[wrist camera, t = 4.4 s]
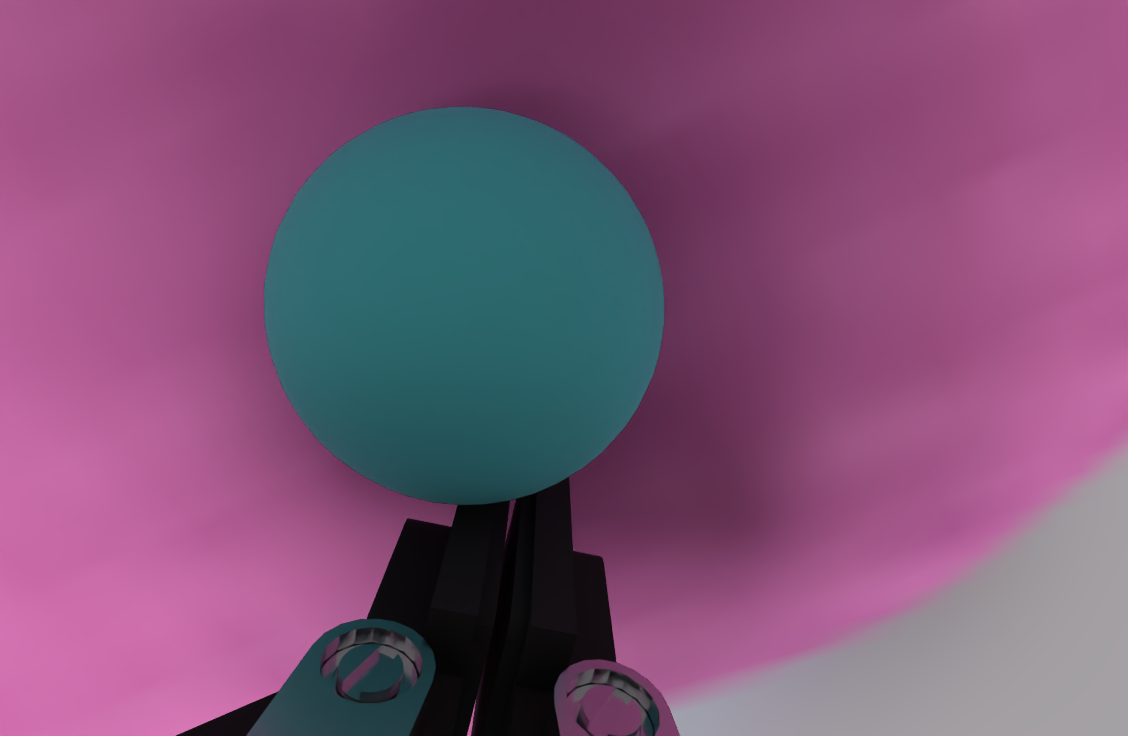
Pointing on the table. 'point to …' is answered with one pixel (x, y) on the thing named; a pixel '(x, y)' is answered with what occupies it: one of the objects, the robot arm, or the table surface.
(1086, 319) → the table surface
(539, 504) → the robot arm
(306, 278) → the ball
